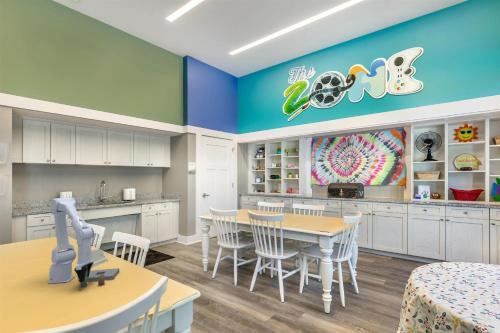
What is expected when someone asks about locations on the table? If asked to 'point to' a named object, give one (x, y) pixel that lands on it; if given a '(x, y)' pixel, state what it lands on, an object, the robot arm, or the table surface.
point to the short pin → (101, 280)
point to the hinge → (98, 257)
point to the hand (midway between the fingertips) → (83, 279)
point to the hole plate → (108, 273)
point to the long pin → (83, 284)
